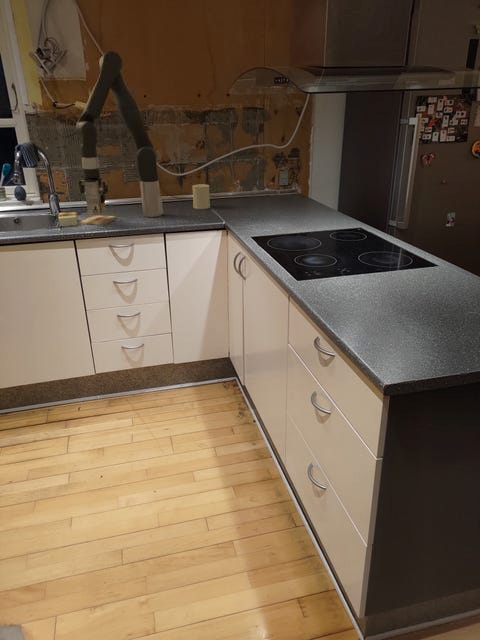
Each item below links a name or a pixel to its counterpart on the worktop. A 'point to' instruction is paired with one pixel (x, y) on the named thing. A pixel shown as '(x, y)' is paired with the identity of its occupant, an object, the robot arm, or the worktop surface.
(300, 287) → the worktop surface
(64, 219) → the sage block
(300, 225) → the worktop surface
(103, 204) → the coffee box
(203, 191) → the can
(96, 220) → the birch board
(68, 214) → the oak block
